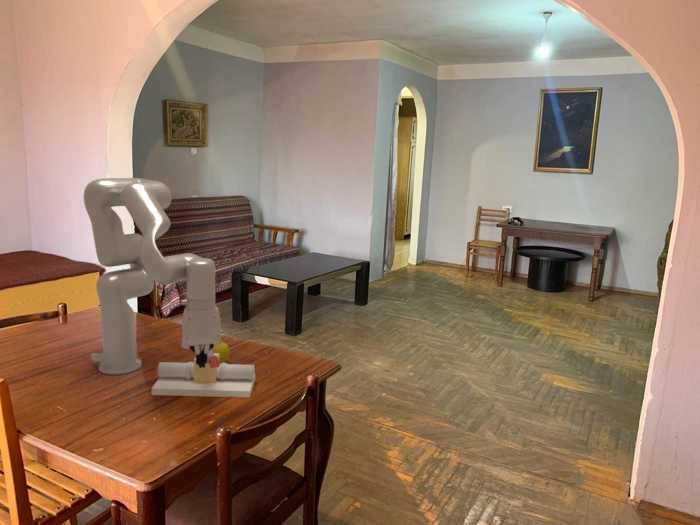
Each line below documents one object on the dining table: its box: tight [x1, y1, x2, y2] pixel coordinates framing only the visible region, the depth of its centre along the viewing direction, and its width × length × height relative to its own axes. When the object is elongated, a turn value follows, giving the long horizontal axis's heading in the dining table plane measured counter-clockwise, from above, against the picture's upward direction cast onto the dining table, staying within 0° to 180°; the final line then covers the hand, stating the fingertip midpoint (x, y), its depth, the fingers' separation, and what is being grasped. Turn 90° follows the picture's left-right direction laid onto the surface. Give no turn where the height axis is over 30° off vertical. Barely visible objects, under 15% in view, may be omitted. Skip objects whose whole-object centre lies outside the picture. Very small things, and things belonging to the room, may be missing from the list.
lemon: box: [212, 341, 230, 364], centre depth 178 cm, size 6×6×8 cm
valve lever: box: [201, 345, 220, 368], centre depth 155 cm, size 14×3×2 cm, turn 25°
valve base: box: [151, 353, 256, 399], centre depth 160 cm, size 28×12×10 cm, turn 92°
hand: (201, 365), depth 151 cm, fingers closed
